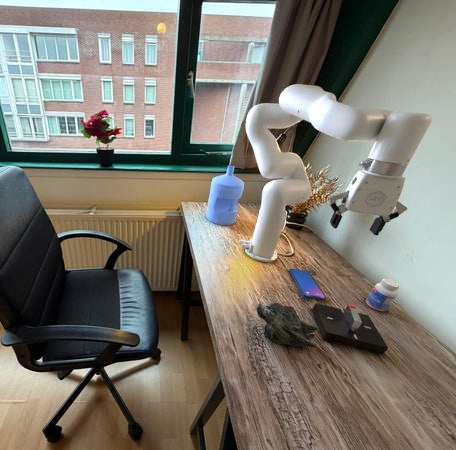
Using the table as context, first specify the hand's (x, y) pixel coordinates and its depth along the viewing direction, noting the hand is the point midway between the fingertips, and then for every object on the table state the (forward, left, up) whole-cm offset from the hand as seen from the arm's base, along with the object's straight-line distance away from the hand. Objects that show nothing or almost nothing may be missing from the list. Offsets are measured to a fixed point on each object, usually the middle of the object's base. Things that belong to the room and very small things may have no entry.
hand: (352, 229), depth 67 cm
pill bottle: (+18, +4, -26) cm, 32 cm away
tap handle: (+4, -11, -23) cm, 26 cm away
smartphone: (-2, +7, -26) cm, 27 cm away
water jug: (-34, +49, -26) cm, 65 cm away
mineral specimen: (-14, -19, -26) cm, 35 cm away
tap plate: (+4, -11, -26) cm, 29 cm away
